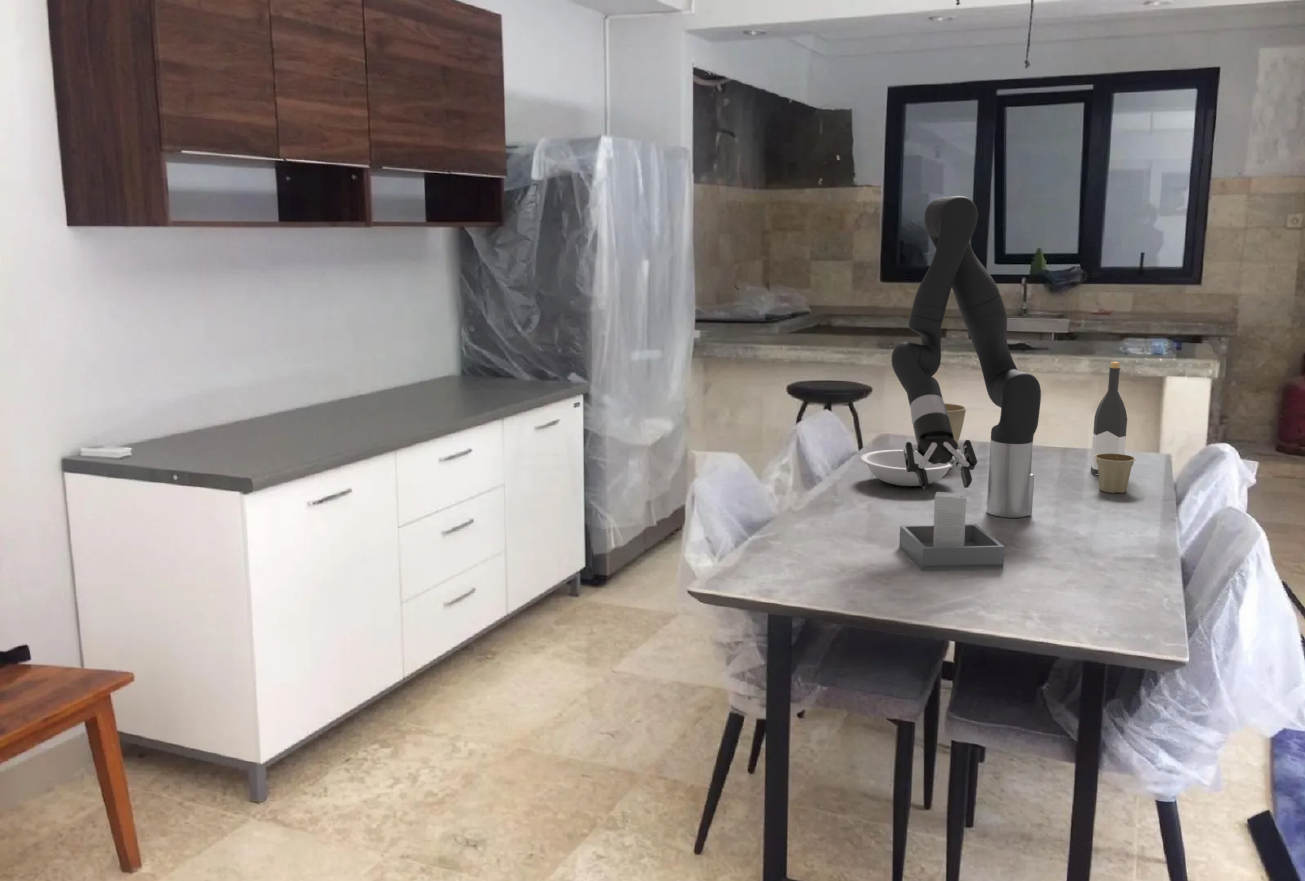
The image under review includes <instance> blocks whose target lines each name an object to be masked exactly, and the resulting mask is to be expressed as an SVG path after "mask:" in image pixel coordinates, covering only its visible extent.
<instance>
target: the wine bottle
mask: <svg viewBox="0 0 1305 881" xmlns="http://www.w3.org/2000/svg"><path fill="white" fill-rule="evenodd" d="M1120 371H1121V368H1120V362H1119V361H1111V362H1110V367H1109V372H1108V373H1109V374H1108V386H1107V387H1108V388H1107V391H1106V393H1105V395H1104V396H1103V397H1102V399H1101V400H1100V402H1099V404H1098V406H1097V408H1096V411H1095V414H1094V421H1093V434H1092V435H1093V436H1092V446H1091V447H1092V448H1091V459H1090V460H1091V461H1090V473H1091V472H1092V473H1093V474H1098V464H1097V462H1096V458H1095V455H1097V454H1103V453H1114V454H1124V455H1125V451H1126V439H1127V426H1128V415H1127V410H1126V407H1125V403H1124V401H1123V399H1122V397H1121V395H1120V393H1119V384H1120V382H1119V381H1120ZM1092 473H1091V474H1092ZM1093 474H1092V475H1093Z"/></svg>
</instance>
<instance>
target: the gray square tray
mask: <svg viewBox="0 0 1305 881" xmlns="http://www.w3.org/2000/svg"><path fill="white" fill-rule="evenodd" d="M933 535H934V524H921V525H920V524H917V525H916V524H915V525H912V524H911V525H910V524H909V525H900V526H899V543H898V545H899V548H900V549H901V550H902V551H903V552H904V554H906V555H907V556H908V558H910V560H911V561H912V562H913V563H914V564H915V565H916V566H917V567H918V568H919V569H920V570H921V572H924V571H925V572H927V571H932V572H933V571H968V570H969V571H970V570H971V571H974V570H978V569H979V570H1004V565H1005V564H1004V563H1005V562H1004V560H1005V545H1003V544H1002V543H1001V542H999V541H998V540H997V539H995V538H994V537H993V536H992V535H990V534H989V533H988V532H987V531H986V530H984V529H983V528H981V527H980V526H979V525H978V524H976V523H970V524H969V523H965V541H964V546H957V547H933ZM979 570H978V571H979Z"/></svg>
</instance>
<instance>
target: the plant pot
mask: <svg viewBox="0 0 1305 881" xmlns="http://www.w3.org/2000/svg"><path fill="white" fill-rule="evenodd" d="M944 404H945V406H946V409H947V413H948V416H949V420H950V424H951V428H952V432H953V436H954V440H955V441H956V442H957V443H959V441H960V438H961V434H962V429H963V426H964V421H965V416H966V413H967V412H966V411H967V406H964V405H961V404H956V403H946V402H944ZM912 428H913V429H914V427H912ZM913 432H914V437H915V438H916V435H915V431H914V430H913ZM915 441H916V445H918V443H917V440H916V439H915Z"/></svg>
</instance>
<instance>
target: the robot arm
mask: <svg viewBox="0 0 1305 881" xmlns="http://www.w3.org/2000/svg"><path fill="white" fill-rule="evenodd" d="M978 211H979V210H978V208H977V206H976V204H975V203H974V201H973V200H972V199H970V198H969V197H966V196H963V195H953V196H943V197H938V198H935V199H933V200H932V201H931V202H929V204H928V205H927V206H926V209H925V211H924V220H923V221H924V226H925V230H926V232H927V234H928V236H929V238H930V241H931V242H932V244H933V246H934V248H935V252H934V255H933V258H932V261H931V264H930V265H929V267H928V270H927V271H926V272H925V274H924V277H923V278H922V280H921V283H920V284H919V286H918V288H917V291H916V293H915V297H914V300H913V303H912V304H913V305H912V308H911V312H910V316H909V320H908V327H909V329H910V331H913V332H914V333H916V334H918V335H919V336H920V339H921V343H915V342H910V341H902V342H900V343H898V344H897V345H896V346H895V347H894V349H893V350H892V353H891V366H892V370H893V371H894V374H895V375H896V377H897V379H898V380H899V382H900V385H901V386H902V387H903V389H904V391H905V392H906V394H907V401H908V403H909V409H910V418H911V424H912V426H913V427H914V428H913V427H912V428H913V432H914V431H915V433H914V436H915V435H916V437H915V441H916V440H917V441H916V444H912V442H911V441H906V442H905V446H904V448H903V450H904V457H905V463H906V470H907V471H908V472H915V473H916V474H917V477H918V481H919V485H920V488H921V487H922V489H923V490H928V488H929V485H930V484H929V482H928V477H927V473H926V469H924V468H925V467H926V465H927V464H928V462H930V463H932V464H938V463H942V464H947V462H948V463H949V464H951V465H952V466H953V467H952V468H956V469H957V470H959V473H960V474H959V475H960V477H961V478H960V479H961V482H962V485H963V488H966V489H968V488H969V486H970V485H971V483H972V481H973V477H972V475H971V474H972V473H971V471H974V469H975V468H976V466H977V463H978V460H977V456H976V454H975V450H974V447H973V445H972V442H971V440H970V439H966V440H964V441H963V442H958V443H957V442H956V441H955V440H954V436H953V432H952V428H951V424H950V420H949V416H948V413H947V409H946V406H945V404H944V403H945V402H944V398H943V394H942V391H941V387H940V383H939V381H938V380H937V379H936V378H935V377H934V375H935V374H936V373H937V372H938V370H939V368H940V365H941V362H942V361H941V360H942V347H941V346H942V345H941V344H942V343H941V342H942V339H941V338H942V329H941V328H942V325H943V321H944V317H945V313H946V308H947V305H948V301H949V298H950V294H951V291H953V295H954V297H955V300H956V303H957V306H958V309H959V313H960V315H961V316H962V320H963V322H964V324H965V327H966V328H967V332H968V334H969V337H970V340H971V342H972V345H973V347H974V350H975V352H976V356H977V357H978V361H979V364H980V368H981V373H982V375H983V376H982V377H983V380H984V384H985V388H986V391H987V395H988V397H989V399H990V401H991V402H992V403H993V404H994V405H995V406H997V407H999V408H1000V416H999V417H1000V418H999V421H998V423H997V424H996V425H994V426H992V427H991V431H990V446H989V464H988V477H987V478H988V481H987V495H986V496H987V498H986V499H987V501H986V512H987V514H988V515H992V516H996V517H1000V518H1010V519H1011V518H1015V519H1016V518H1023V517H1027V516H1028V517H1029V516H1032V515H1033V503H1034V502H1033V500H1034V488H1035V487H1034V486H1035V475H1034V474H1033V473H1032V462H1033V446H1034V437H1035V436H1034V435H1035V433H1036V431H1037V428H1038V425H1039V421H1040V420H1039V418H1040V410H1041V399H1042V393H1041V392H1042V389H1041V385H1040V382H1039V380H1038V379H1037V378H1036V376H1035V375H1033V374H1031V373H1029V372H1025V371H1021V370H1019V369H1018V368H1017V367H1018V366H1016V363H1015V361H1014V359H1013V357H1012V354H1011V352H1010V349H1009V345H1008V338H1007V335H1008V315H1007V310H1006V306H1005V303H1004V300H1003V298H1002V294H1001V292H1000V290H999V287H998V286H997V283H996V282H995V280H994V279H993V277H992V275H991V274H990V273H989V271H988V269H987V268H986V267H985V266H984V265H983V264H982V262H981V261H980V260H979V259H978V257H977V256H976V254H975V253H974V250H973V248H972V246H971V243H970V241H971V239H972V237H973V234H974V231H975V229H976V227H977V224H978V219H979V212H978ZM917 443H918V445H917ZM957 450H959V451H960V452H959V451H957ZM915 451H917V452H918V453H919V454H921V455H922V456H923V458H922V460H921V462H920V463H919V464H916V463H915V461H914V454H915ZM962 454H963V455H964V457H963V455H962ZM964 458H965V459H964Z"/></svg>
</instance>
